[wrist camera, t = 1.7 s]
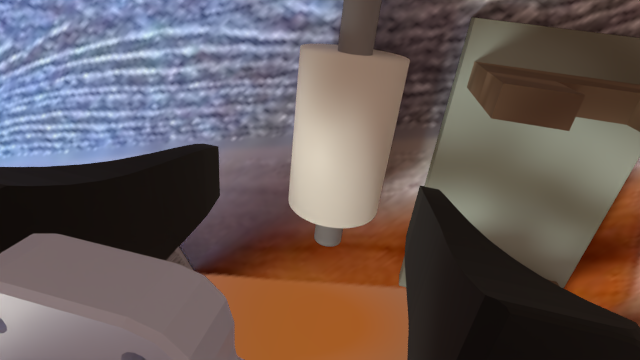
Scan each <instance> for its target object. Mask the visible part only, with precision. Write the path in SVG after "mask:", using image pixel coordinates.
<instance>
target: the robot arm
mask: <svg viewBox="0 0 640 360" xmlns="http://www.w3.org/2000/svg"><path fill="white" fill-rule="evenodd" d="M219 196H220V188H219V152H218V147H217V146H212V145H207V144H193V145H187V146H182V147H177V148H173V149H168V150H164V151H159V152H155V153H150V154H145V155H140V156H135V157H130V158H125V159H120V160H114V161H107V162H99V163H91V164H82V165H67V166H51V167H0V360H244V359H242V358H240V357H238V356H237V354H236V351H235V345H234V320H233V317H232V314H231V311H230V309H229V305H228V302H227V299H226V298H225V296H224V295H223V294H222V293H221V292H220V291H219V290H218V289H217V288H216V287H215V286H214V285H213V284H212V283H211V282H210V281H209V279H207V278H206V276H204V275H202V274H200V273H198V272H195V271H193V270H191V269H189V268H187V267H185V266H183V265H180V264H177V263H173V262H169V261H166V260H167V259H168V257H169V256H170V255H171V254H172V253H173V252H174V251H175V250H176V249H177V248H178V247H179V246H180V244H181V243H182V242H183V241H184V240H185V239H186V238H187V237H188V236H189V235H190V234H191V233H192V231H193V230H194V229H195V228H196V227H197V226H198V225H199V224H200V223H201V222H202V220H203V219H204V218H205V217H206V216H207V214H208V213H209V212H210V210H211V209H212V207H213V206H214V204H215V202H216V201H217V199H218V198H219ZM405 275H406V289H407V302H408V317H409V337H408V360H640V327H639V326H638V325H637V323H636V322H633V321H631V320H629V319H627V318H624V317H622V316H620V315H618V314H616V313H613V312H611V311H609V310H607V309H604V308H602V307H600V306H598V305H595V304H593V303H591V302H589V301H587V300H585V299H583V298H581V297H579V296H577V295H575V294H573V293H571V292H569V291H567V290H565V289H563V288H561V287H560V286H558V285H556V284H554V283H552V282H551V281H549V280H547V279H545V278H544V277H542V276H540V275H539V274H537V273H535V272H534V271H532V270H531V269H529V268H527V267H526V266H524V265H523V264H521V263H520V262H518V261H517V260H515V259H514V258H512V257H511V256H510V255H508V254H507V253H506V252H504V251H503V250H502V249H500V248H499V247H498V246H496V245H495V244H494V243H493V242H491V241H490V240H489V239H488V238H487V237H486V236H484V235H483V234H482V233H481V232H480V231H479V230H478V229H477V228H476V227H475V226H474V225H472V224H471V223H470V222H469V221H468V220H467V219H466V218H465V217H464V215H463V214H462V213H461V212H460V211H459V210H458V209H457V208H456V207H455V206H454V205H453V204H452V203H451V201H450V200H449V199H448V198H447V197H446V196H445V195H444V194H443V193H442V192H441V191H440V190H439V189H434V188H429V187H424V186H420V188H419V191H418V195H417V199H416V202H415V206H414V210H413V213H412V217H411V220H410V224H409V228H408V231H407V235H406V246H405Z"/></svg>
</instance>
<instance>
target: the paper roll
mask: <svg viewBox="0 0 640 360" xmlns="http://www.w3.org/2000/svg"><path fill="white" fill-rule="evenodd" d="M381 1H382V0H344V4H343V12H342V20H341V28H340V35H339V43H338V45H335V44H304V45H301V46H300V58H299V71H298V83H297V96H296V109H295V122H294V134H293V147H292V160H291V172H290V185H289V198H288V200H289V205H290V207H291V208H292V210H293V211H294V212H295V213H296V214H297V215H299V216H300V217H301V218H303V219H305V220H307V221H309V222H311V223H314V224H316V227H315V235H314V238H315V240H316V242H318V243H319V244H321V245H323V246H336V245H338V244H339V243H340V242H341V237H342V231H343V228H353V227H358V226H361V225H364V224H366V223H368V222H370V221H371V220H372V219H373V218H374V217H375V216H376V214H377V210H378V205H379V201H380V196H381V191H382V187H383V182H384V178H385V173H386V168H387V164H388V159H389V155H390V150H391V146H392V141H393V136H394V132H395V127H396V123H397V118H398V114H399V109H400V104H401V100H402V95H403V91H404V86H405V81H406V77H407V72H408V68H409V63H410V59H408V58H406V57H404V56H401V55H398V54H394V53H390V52H385V51H380V50H375V49H374V43H375V37H376V31H377V25H378V19H379V13H380V7H381Z"/></svg>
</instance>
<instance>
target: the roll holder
mask: <svg viewBox="0 0 640 360" xmlns="http://www.w3.org/2000/svg"><path fill="white" fill-rule="evenodd" d="M639 157H640V38H636V37H628V36H619V35H611V34H603V33H595V32H587V31H579V30H571V29H563V28H554V27H546V26H538V25H530V24H522V23H514V22H506V21H498V20H489V19H481V18H473V17H472V18H471V22H470V25H469V29H468V32H467V36H466V39H465V43H464V46H463V50H462V54H461V57H460V61H459V64H458V68H457V71H456V75H455V79H454V82H453V86H452V89H451V93H450V96H449V100H448V103H447V107H446V111H445V114H444V118H443V121H442V125H441V128H440V132H439V135H438V139H437V143H436V146H435V150H434V153H433V157H432V160H431V164H430V168H429V171H428V175H427V178H426V182H425V185H424V187H429V188H434V189H439V190H440V191H441V192H442V193H443V194H444V195H445V196H446V197H447V198H448V199H449V200H450V201H451V203H452V204H453V205H454V206H455V207H456V208H457V209H458V210H459V211H460V212H461V213H462V214H463V215H464V217H465V218H466V219H467V220H468V221H469V222H470V223H471V224H472V225H474V226H475V227H476V228H477V229H478V230H479V231H480V232H481V233H482V234H483V235H484V236H486V237H487V238H488V239H489V240H490V241H491V242H493V243H494V244H495V245H496V246H498V247H499V248H500V249H502V250H503V251H504V252H506V253H507V254H508V255H510V256H511V257H512V258H514V259H515V260H517V261H518V262H520V263H521V264H523V265H524V266H526V267H527V268H529V269H531V270H532V271H534V272H535V273H537V274H539V275H540V276H542V277H544V278H545V279H547V280H549V281H551V282H552V283H554V284H556V285H558V286H560V287H561V288H564V287H565V285H566V283H567V281H568V280H569V278H570V276H571V274H572V273H573V271H574V269H575V268H576V266H577V264H578V262H579V261H580V259H581V257H582V255H583V254H584V252H585V250H586V249H587V247H588V245H589V243H590V242H591V240H592V238H593V236H594V235H595V233H596V231H597V230H598V228H599V226H600V224H601V223H602V221H603V219H604V217H605V216H606V214H607V212H608V211H609V209H610V207H611V205H612V204H613V202H614V200H615V198H616V197H617V195H618V193H619V191H620V190H621V188H622V186H623V185H624V183H625V181H626V179H627V178H628V176H629V174H630V172H631V171H632V169H633V167H634V166H635V164H636V162H637V160H638V159H639ZM399 286H404V287H406V275H405V257H404V260H403V264H402V267H401V271H400V274H399Z"/></svg>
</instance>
